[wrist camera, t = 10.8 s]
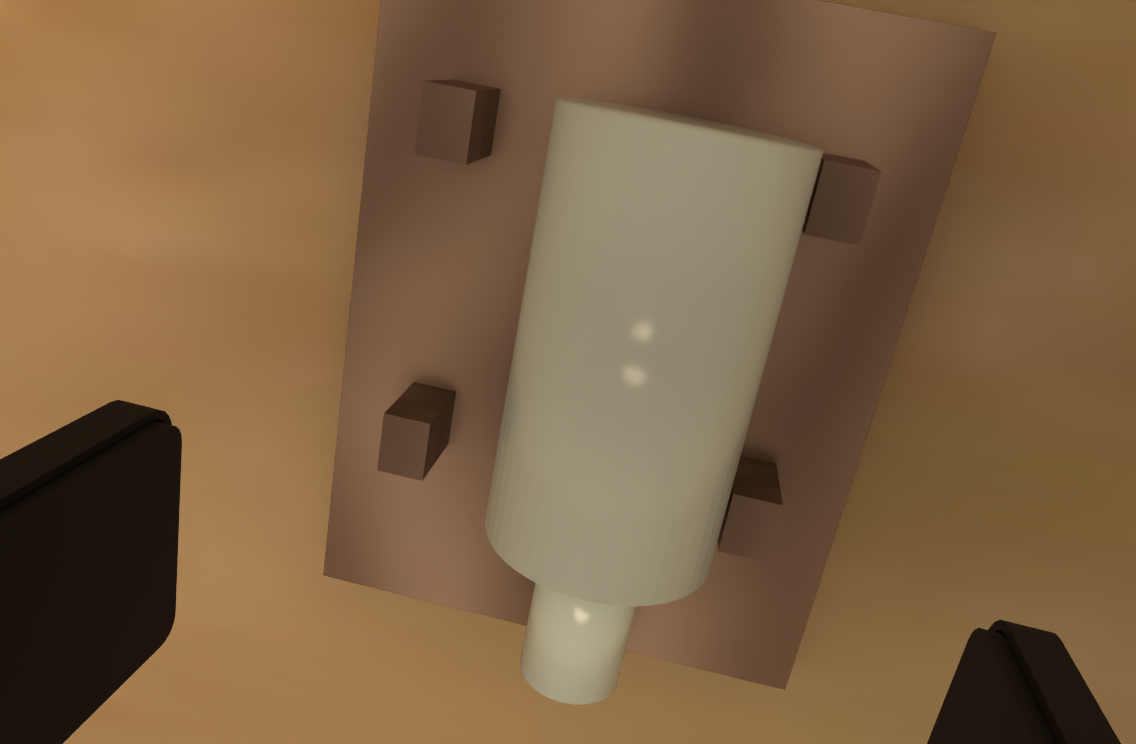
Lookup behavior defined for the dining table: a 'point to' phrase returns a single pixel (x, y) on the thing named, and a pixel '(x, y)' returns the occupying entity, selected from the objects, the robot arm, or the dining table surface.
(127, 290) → the dining table surface
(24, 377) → the dining table surface
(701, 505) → the sage bottle
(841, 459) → the walnut cradle
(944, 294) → the dining table surface
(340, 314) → the dining table surface
